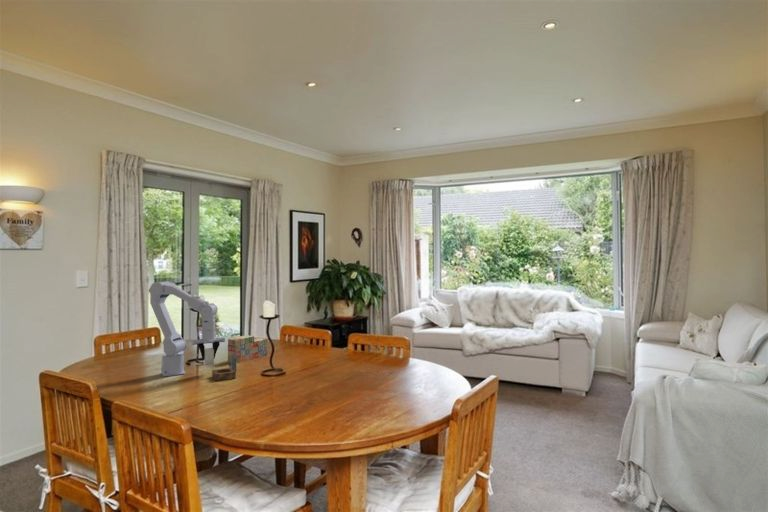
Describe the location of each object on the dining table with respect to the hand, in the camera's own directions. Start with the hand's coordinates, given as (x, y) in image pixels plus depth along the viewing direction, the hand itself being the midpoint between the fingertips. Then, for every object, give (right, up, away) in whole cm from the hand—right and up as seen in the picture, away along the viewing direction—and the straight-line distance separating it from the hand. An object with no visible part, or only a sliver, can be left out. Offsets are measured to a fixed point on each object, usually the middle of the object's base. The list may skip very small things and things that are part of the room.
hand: (208, 358), depth 202 cm
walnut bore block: (+9, -7, -5) cm, 13 cm away
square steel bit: (0, -3, 0) cm, 2 cm away
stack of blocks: (+9, -8, +32) cm, 34 cm away
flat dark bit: (+9, -7, +6) cm, 13 cm away
